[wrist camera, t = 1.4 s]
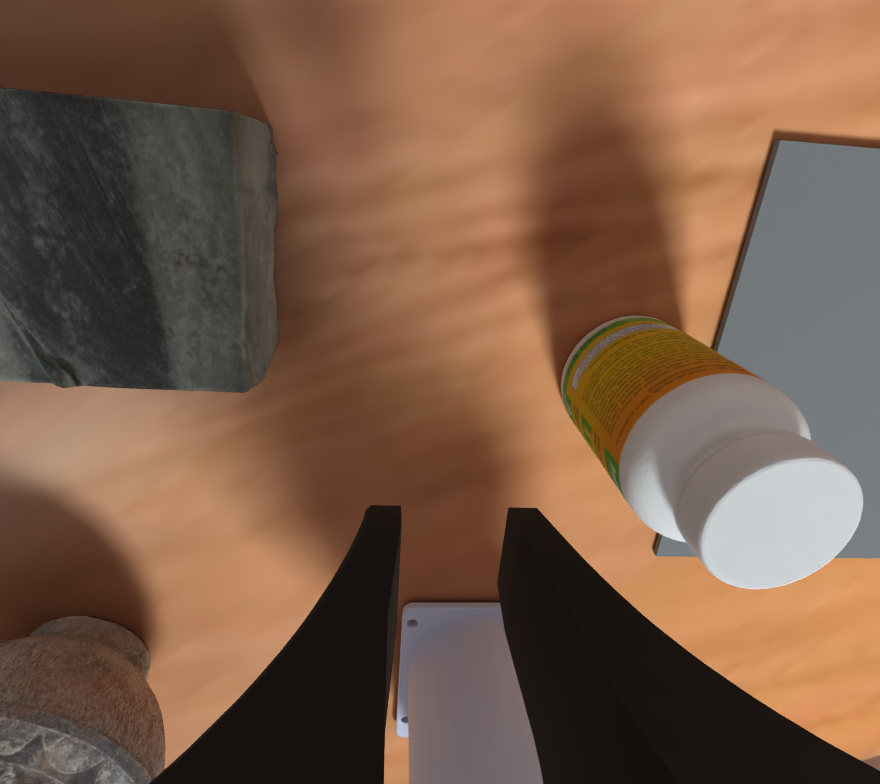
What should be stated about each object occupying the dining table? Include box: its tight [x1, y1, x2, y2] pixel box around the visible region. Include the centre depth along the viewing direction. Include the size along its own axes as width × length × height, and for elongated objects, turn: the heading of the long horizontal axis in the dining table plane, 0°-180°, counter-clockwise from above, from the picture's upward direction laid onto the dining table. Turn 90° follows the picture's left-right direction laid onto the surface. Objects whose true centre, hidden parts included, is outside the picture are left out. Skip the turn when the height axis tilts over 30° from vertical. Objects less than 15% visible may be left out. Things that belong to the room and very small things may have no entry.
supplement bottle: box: [561, 316, 863, 589], centre depth 17 cm, size 5×5×10 cm
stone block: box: [0, 87, 279, 393], centre depth 16 cm, size 9×14×5 cm, turn 85°
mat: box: [654, 140, 880, 558], centre depth 22 cm, size 18×14×1 cm
